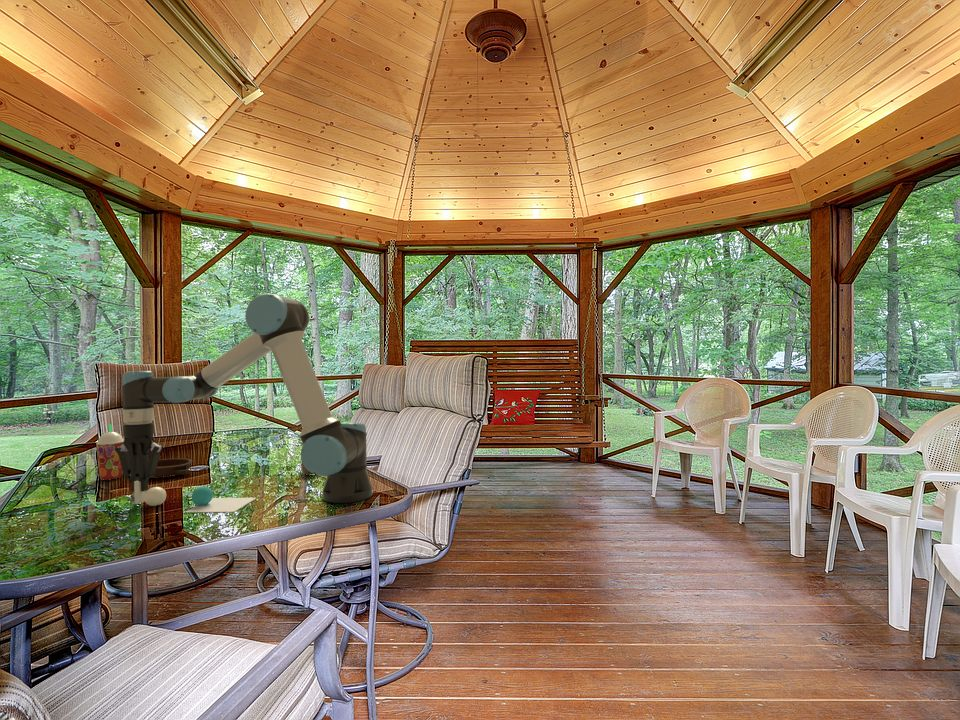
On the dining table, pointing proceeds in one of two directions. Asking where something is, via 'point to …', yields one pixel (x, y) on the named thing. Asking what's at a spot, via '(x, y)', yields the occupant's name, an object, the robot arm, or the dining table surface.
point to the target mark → (222, 505)
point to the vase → (305, 469)
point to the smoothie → (109, 455)
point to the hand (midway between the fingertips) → (140, 502)
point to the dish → (172, 467)
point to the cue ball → (155, 496)
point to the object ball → (202, 496)
